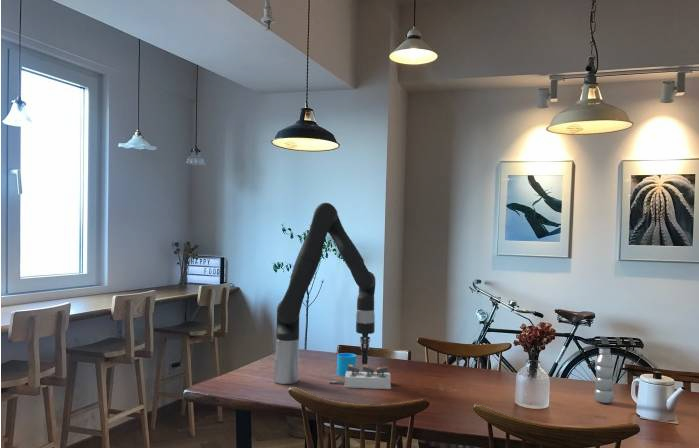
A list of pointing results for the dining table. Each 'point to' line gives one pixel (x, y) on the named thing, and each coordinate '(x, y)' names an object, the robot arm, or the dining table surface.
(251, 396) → the dining table surface
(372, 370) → the rocker
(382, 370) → the rocker
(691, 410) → the dining table surface
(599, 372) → the plastic bottle
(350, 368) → the rocker
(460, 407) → the dining table surface
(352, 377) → the power strip
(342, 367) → the mug
